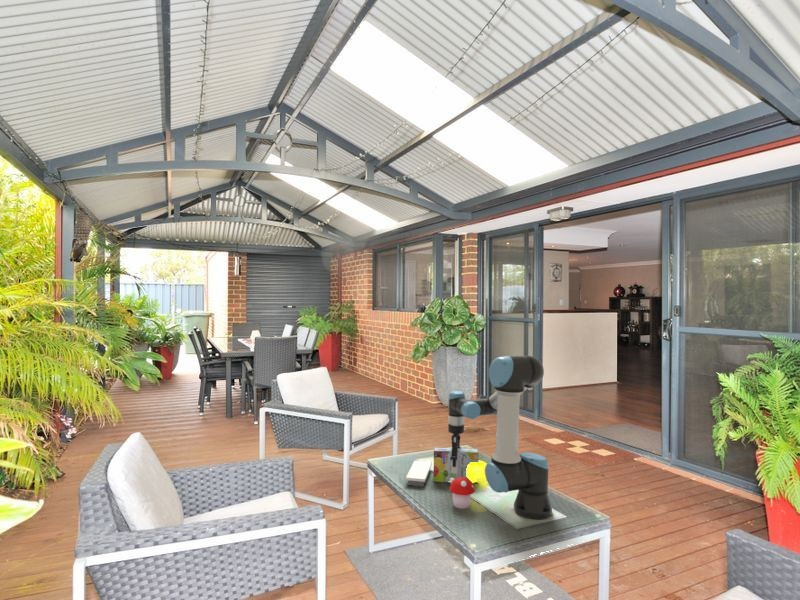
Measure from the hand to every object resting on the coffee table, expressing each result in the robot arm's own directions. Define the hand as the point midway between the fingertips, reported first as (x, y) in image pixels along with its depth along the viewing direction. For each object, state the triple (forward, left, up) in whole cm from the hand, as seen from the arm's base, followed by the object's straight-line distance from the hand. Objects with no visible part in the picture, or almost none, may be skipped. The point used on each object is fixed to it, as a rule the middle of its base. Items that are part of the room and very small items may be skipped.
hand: (455, 468), depth 232 cm
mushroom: (-27, -5, -6) cm, 28 cm away
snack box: (0, 0, -6) cm, 6 cm away
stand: (0, +17, -6) cm, 18 cm away
